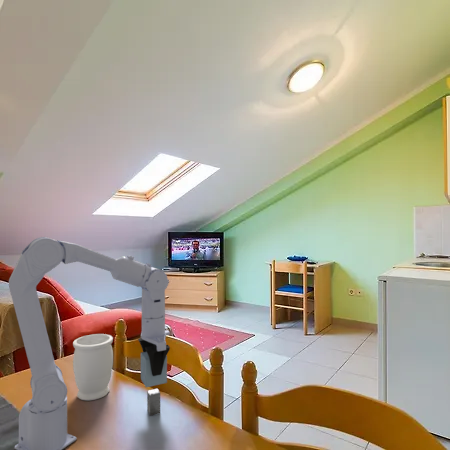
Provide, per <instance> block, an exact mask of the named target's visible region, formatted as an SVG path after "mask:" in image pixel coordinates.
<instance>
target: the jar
mask: <svg viewBox="0 0 450 450" xmlns="http://www.w3.org/2000/svg"><path fill="white" fill-rule="evenodd" d="M113 339H114V337H113V336H112V335H111V334H106V333H105V334H104V333H92V334H89V335H83V336H81V337H78V338H76V339H74V341H73V342H72V346H73V348H74V351H73V359H72V369H73V375H74V381H75V385H76V387H77V389H78V391H77V394H76V396H77V398H78V399H79V400H81V401H95V400H99V399H102V398H104V397H105V396H107V395H108V394H109V392H110V387H109V384H110V381H111V377H112V371H113V367H114V366H113V365H114V351H113V347H112V343H113V341H114V340H113Z"/></svg>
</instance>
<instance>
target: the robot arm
mask: <svg viewBox="0 0 450 450" xmlns="http://www.w3.org/2000/svg"><path fill="white" fill-rule="evenodd" d="M134 258H135V257H134V256H132V255H127V256H124V255H122V256H120V257H117V258H113V257H110V256H108V255H105V254H104V253H100V252H98V251H95V250H93V249H90V248H87V247H86V246H83V245H80V244H77V243H74V242H73V243H72V242H68V241H63V240H56V239H53V238H50V237H48V236H47V237H46V236H41V237H37V238H34V239H33V240H31V241H30V243H28V244H27V245H26V247H25V248H23V250H22V251H21V253H20V256H19V257H18V260H17V263H16V265H15V267H14V269H13V271H12V273H11V275H10V277H9V279H8V288H9V292H10V296H11V300H12V303H13V306H14V307H13V308H14V311H15V315H16V319H17V322H18V326H19V330H20V333H21V338H22V342H23V345H24V350H25V353H26V357H27V361H28V364H29V368H30V374H31V377H30V388H31V394H32V395H31V396H32V397H31V399H29V400H28V401H26V403H24V405H22V408H21V409H20V412H19V414H18V443H17V444H15V445H14V450H64V449H65V448H66V447H68V446H69V445H71V444H72V443H74V442H75V441H76V440H77V437H76V436H74V435H73V434H69V433H68V387H67V385H66V383H65V380H64V377H63V371H62V370H61V368H60V367H59V366H58V365H57V364H56V363H55V358H54V355H53V354H54V353H53V351H52V346H51V342H50V337H49V335H48V331H47V326H46V323H45V318H44V315H43V310H42V306H41V303H40V299H39V295H38V291H37V286H38V284H39V283H40V282H41V281H42V280H43V278H44V277H45V275H46V274H47V273H49V272H50V271H52V270H53V269H55V268H56V267H57V266H59V265H60V264H61V263H62V264H64V265H68V264H72V263H76V262H78V263H81V264H85V265H89V266H92V267H95V268H99V269H101V270H105V271H108V272H109V273H110V275H111V277H112V279H114V280H116V281H119V282H123V283H125V284H128V285H131V286H135V287H138V288H141V332H140V337H139V338H138V339H137V341H138V343H139V344H140V346H141V349H142V352H147V354H148V356H149V360H150V366H151V372H152V375H153V376H157V375H161V373H162V370H163V365H164V361H165V358H166V355H168V353H169V351H170V349H171V347H170V345H169V344H167V342H166V337H167V336H170V335H171V334H170V331H169V329H166V297H165V296H166V293H165V292H166V289H167V288H168V286H169V284H170V283H169V282H170V279H168V275H167V273H165V271H164V270H163V269H159V268H156V267H153V266H152V264H151V263H149V262H146V263H144V262H140V261H137V260H135V259H134Z"/></svg>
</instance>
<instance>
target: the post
mask: <svg viewBox="0 0 450 450" xmlns="http://www.w3.org/2000/svg"><path fill="white" fill-rule="evenodd" d="M146 395H147V399H146V402H147V403H146V407H147V408H146V409H147V413H148V415H149V416H150V417H152V416H156V415H159V414H161V392H160V390H159V389H158V388H154V389H153V388H152V389H149V390H147V391H146Z"/></svg>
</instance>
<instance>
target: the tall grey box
mask: <svg viewBox="0 0 450 450" xmlns="http://www.w3.org/2000/svg"><path fill="white" fill-rule="evenodd" d="M167 355H168V354H167ZM167 355H166V358H165V361H164V365H163V370H162V373H161V375H157V376H153V375H152V372H151V366H150V360H149V356H148V354H147V352H143V351H142V352H140V379H141V382H142V383H143V384H144V387H145V388H150V387H153V386H158V385H163V384H167V383H168V356H167Z"/></svg>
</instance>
